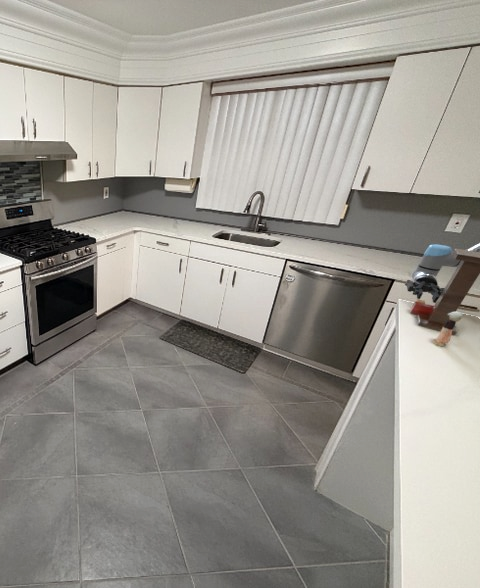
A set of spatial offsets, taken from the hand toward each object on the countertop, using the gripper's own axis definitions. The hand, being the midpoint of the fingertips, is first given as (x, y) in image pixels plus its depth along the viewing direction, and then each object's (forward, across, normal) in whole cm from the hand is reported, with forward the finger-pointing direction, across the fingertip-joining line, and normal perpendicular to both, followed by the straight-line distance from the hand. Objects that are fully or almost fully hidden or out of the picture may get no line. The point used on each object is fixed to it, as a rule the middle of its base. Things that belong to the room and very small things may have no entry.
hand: (427, 298), depth 128 cm
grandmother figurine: (+27, -4, -7) cm, 29 cm away
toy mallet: (-3, 0, -7) cm, 8 cm away
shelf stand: (+9, -4, -7) cm, 12 cm away
